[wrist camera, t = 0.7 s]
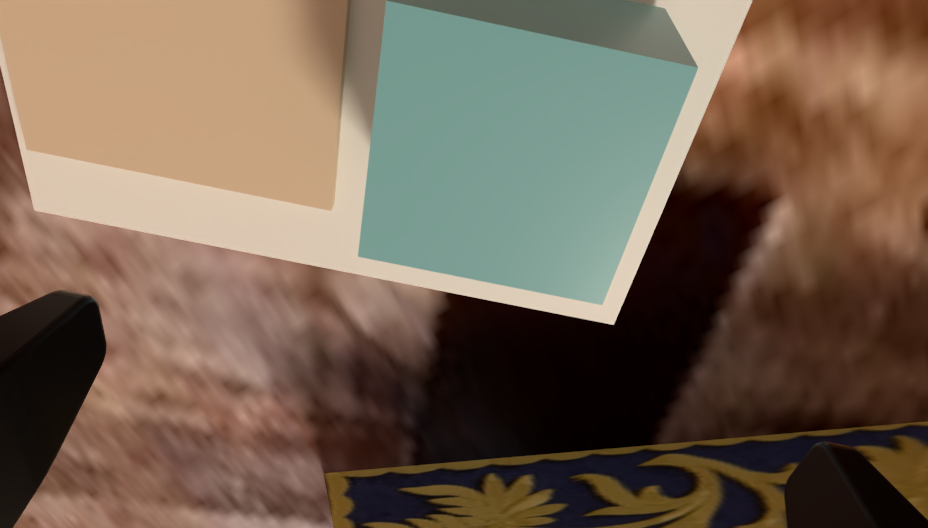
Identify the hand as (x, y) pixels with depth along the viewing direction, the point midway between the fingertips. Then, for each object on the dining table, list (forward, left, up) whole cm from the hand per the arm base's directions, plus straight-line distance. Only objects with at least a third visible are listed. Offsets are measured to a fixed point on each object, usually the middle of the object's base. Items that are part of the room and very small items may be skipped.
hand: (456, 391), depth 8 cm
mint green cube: (-1, +1, -11) cm, 11 cm away
